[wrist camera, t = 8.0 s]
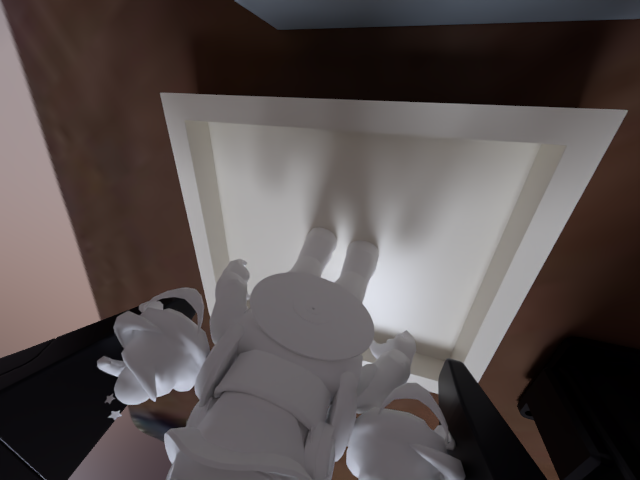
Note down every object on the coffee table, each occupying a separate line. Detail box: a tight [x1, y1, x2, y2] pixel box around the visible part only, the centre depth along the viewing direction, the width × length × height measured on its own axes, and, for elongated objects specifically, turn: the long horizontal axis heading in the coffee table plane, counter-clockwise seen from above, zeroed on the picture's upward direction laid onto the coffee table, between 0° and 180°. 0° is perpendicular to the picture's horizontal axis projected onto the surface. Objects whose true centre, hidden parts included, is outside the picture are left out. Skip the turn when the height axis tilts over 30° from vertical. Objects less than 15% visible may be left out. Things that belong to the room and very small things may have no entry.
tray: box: [160, 93, 628, 394], centre depth 13 cm, size 16×14×2 cm
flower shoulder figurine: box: [97, 227, 466, 480], centre depth 8 cm, size 9×4×12 cm, turn 75°
